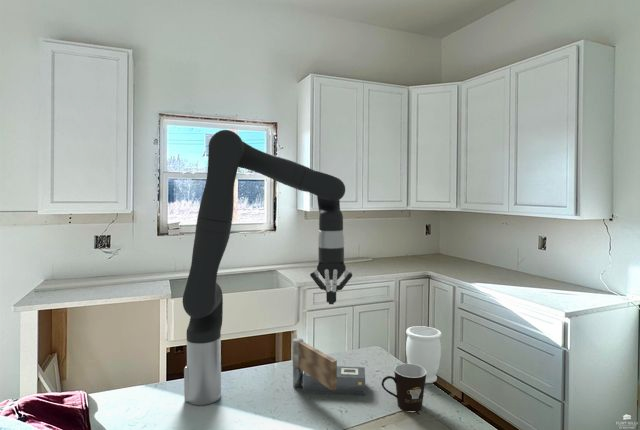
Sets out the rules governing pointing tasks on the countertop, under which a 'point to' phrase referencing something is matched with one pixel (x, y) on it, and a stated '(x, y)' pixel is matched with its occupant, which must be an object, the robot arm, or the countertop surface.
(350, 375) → the case
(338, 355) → the countertop surface
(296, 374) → the swing post
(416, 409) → the coffee mug
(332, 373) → the brown wooden board
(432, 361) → the jar
